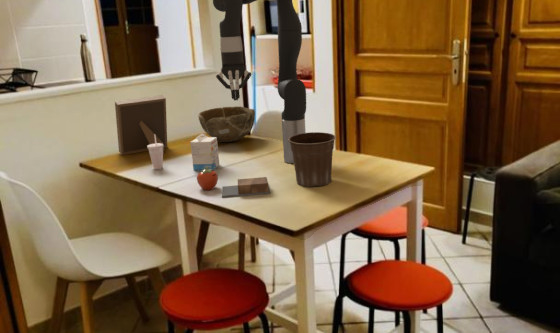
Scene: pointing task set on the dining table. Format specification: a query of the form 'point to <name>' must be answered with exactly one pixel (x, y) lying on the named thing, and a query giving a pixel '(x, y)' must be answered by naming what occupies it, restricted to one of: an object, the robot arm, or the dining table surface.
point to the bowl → (227, 122)
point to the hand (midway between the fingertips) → (235, 100)
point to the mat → (233, 191)
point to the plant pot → (312, 158)
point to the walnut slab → (252, 185)
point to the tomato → (207, 179)
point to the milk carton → (204, 152)
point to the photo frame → (141, 123)
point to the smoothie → (156, 154)
